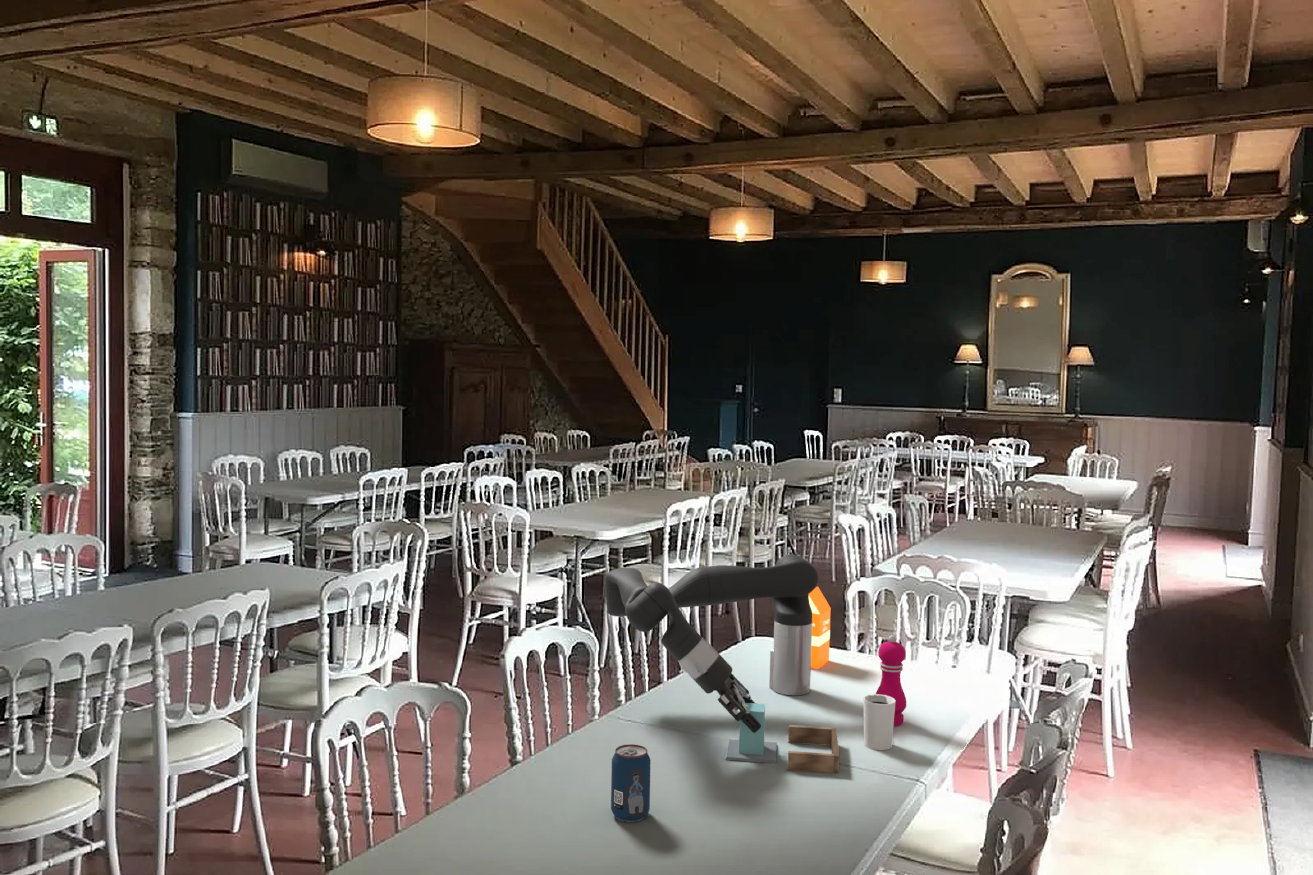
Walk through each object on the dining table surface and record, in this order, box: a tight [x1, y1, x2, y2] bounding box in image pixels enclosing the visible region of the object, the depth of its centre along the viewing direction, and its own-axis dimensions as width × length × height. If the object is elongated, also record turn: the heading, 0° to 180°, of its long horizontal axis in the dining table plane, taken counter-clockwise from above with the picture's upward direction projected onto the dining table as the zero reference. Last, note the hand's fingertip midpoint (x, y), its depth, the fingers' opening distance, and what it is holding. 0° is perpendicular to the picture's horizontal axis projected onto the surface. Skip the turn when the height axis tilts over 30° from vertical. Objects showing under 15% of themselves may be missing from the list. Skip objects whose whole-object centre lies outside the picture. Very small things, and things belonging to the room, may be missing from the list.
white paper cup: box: [863, 693, 896, 751], centre depth 228 cm, size 7×7×10 cm
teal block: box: [738, 702, 766, 755], centre depth 222 cm, size 5×5×9 cm
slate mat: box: [725, 739, 777, 764], centre depth 223 cm, size 10×10×1 cm
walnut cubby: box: [787, 724, 840, 774], centre depth 221 cm, size 10×16×4 cm, turn 173°
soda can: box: [610, 744, 652, 823], centre depth 191 cm, size 7×7×12 cm
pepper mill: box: [875, 634, 907, 727], centre depth 242 cm, size 7×7×20 cm
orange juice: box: [809, 586, 832, 670], centre depth 287 cm, size 8×9×20 cm
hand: (758, 722), depth 222 cm, fingers open, 8 cm apart
